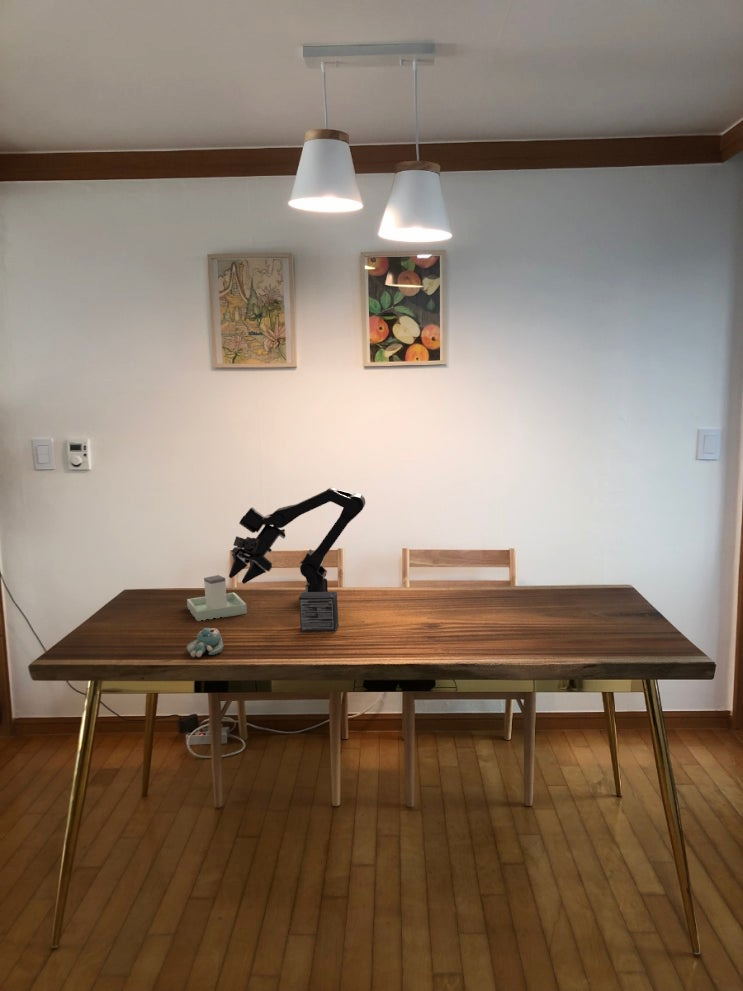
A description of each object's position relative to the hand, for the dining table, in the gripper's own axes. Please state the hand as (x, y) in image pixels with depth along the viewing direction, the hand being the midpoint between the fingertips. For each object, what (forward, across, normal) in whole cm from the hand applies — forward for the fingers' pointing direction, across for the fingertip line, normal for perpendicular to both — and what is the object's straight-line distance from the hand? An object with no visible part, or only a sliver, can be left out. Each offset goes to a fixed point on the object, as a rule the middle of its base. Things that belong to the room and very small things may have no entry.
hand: (236, 580), depth 258 cm
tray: (+11, 0, +1) cm, 11 cm away
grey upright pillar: (+11, 0, 0) cm, 11 cm away
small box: (+1, +37, +12) cm, 39 cm away
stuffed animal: (+25, +33, -12) cm, 43 cm away
